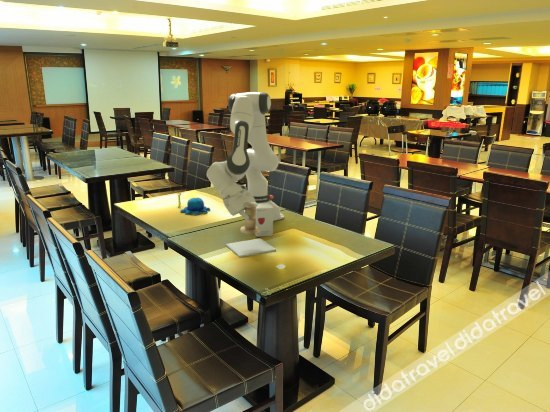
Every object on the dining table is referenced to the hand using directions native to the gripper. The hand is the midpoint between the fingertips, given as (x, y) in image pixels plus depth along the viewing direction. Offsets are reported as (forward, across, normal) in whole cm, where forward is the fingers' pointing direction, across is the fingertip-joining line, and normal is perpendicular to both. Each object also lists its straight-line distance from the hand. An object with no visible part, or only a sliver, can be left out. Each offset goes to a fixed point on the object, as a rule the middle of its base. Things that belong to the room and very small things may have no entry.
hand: (251, 216), depth 190 cm
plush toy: (-29, +42, +51) cm, 72 cm away
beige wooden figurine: (+4, 0, +5) cm, 7 cm away
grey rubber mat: (+10, 0, +11) cm, 15 cm away
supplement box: (+8, +21, +14) cm, 27 cm away
